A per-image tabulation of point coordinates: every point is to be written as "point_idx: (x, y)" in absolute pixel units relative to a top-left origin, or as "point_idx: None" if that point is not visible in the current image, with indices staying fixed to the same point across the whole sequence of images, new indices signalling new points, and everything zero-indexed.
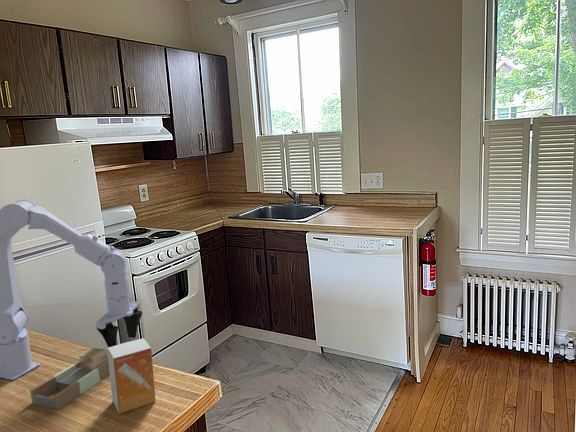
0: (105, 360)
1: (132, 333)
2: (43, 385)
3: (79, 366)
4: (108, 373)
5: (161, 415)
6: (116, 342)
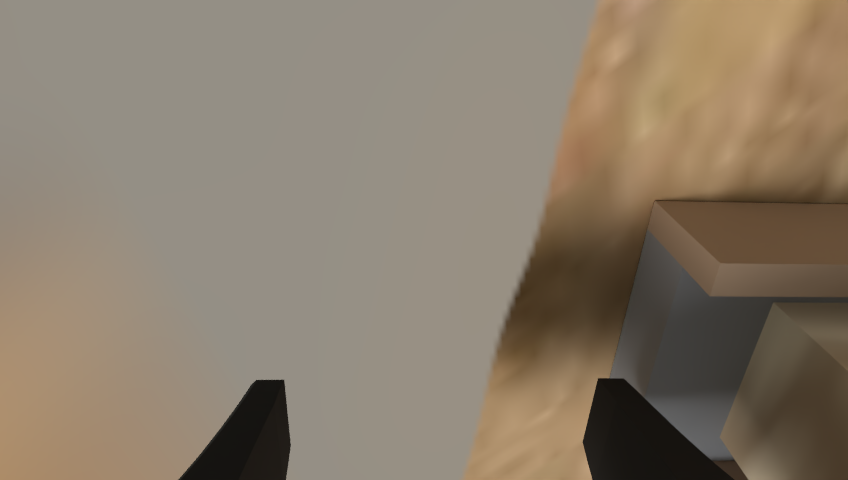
0: (833, 328)
1: (273, 442)
2: None
3: None
4: (833, 211)
5: None
6: (648, 436)
